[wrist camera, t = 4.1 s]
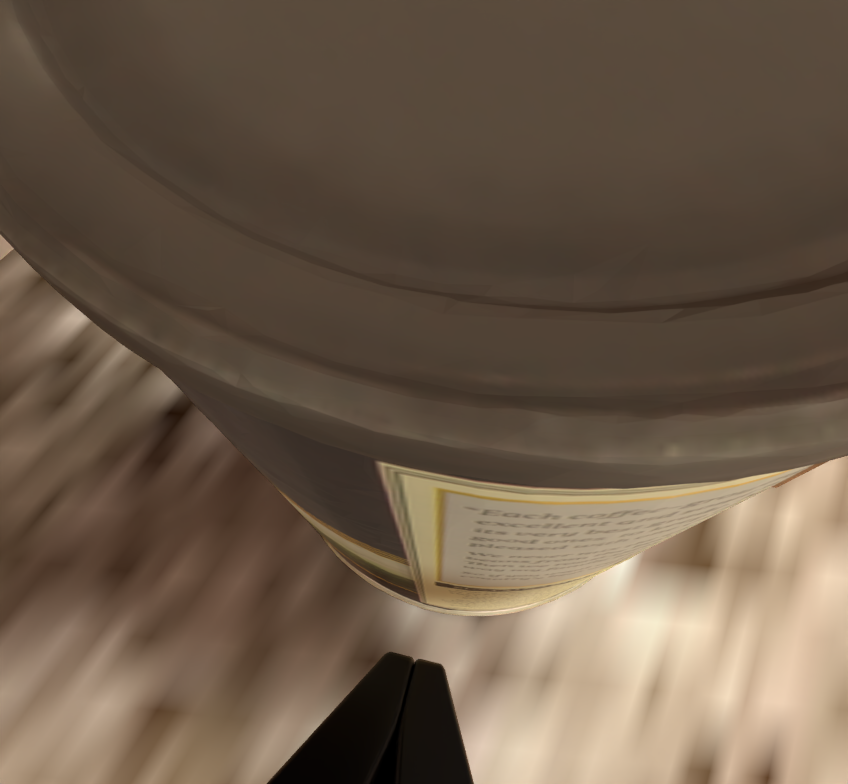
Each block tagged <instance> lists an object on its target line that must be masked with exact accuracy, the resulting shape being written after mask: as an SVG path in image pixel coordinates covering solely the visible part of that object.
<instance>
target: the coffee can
mask: <svg viewBox="0 0 848 784" xmlns="http://www.w3.org/2000/svg"><path fill="white" fill-rule="evenodd" d="M0 235H1V236H2V237H3V238H4V239H5V240H6V241H7V242H8V243H9V244H10V245H11V246H12V247H13V248H14V249H15V250H16V251H17V252H18V253H19V254H20V255H21V256H22V257H23V258H24V259H25V260H26V261H27V263H28V264H29V265H30V266H31V267H32V268H33V269H34V270H35V271H36V272H38V273H39V274H40V275H41V276H42V277H43V278H44V279H45V280H46V281H47V282H48V283H49V284H50V285H51V286H52V287H53V288H54V289H55V290H56V291H58V292H59V293H60V294H61V295H62V296H63V297H64V298H66V299H67V300H68V301H69V302H70V303H71V304H73V305H74V306H75V307H76V308H77V309H79V310H80V311H81V312H82V313H83V314H84V315H86V316H87V317H88V318H89V319H90V320H91V321H93V322H94V323H95V324H96V325H97V326H98V327H100V328H101V329H102V330H104V331H105V332H106V333H108V334H109V335H110V336H112V337H113V338H114V339H116V340H117V341H118V342H120V343H121V344H122V345H124V346H125V347H127V348H128V349H130V350H131V351H133V352H134V353H136V354H137V355H139V356H140V357H142V358H144V359H145V360H147V361H148V362H150V363H151V364H153V365H154V366H156V367H157V368H159V369H161V370H162V371H163V372H164V373H165V374H166V375H167V376H168V377H169V378H170V379H171V380H172V381H173V382H174V383H175V384H176V385H177V386H178V387H179V388H180V389H181V390H182V392H183V393H184V394H185V395H186V396H187V397H188V398H189V399H190V400H191V401H192V402H193V403H194V405H195V406H196V407H197V408H198V409H199V410H200V411H201V412H202V413H203V414H204V415H205V416H206V417H207V418H208V419H209V420H210V421H212V422H213V423H214V425H215V426H216V427H217V428H218V429H219V430H220V431H221V432H222V433H223V434H224V435H225V436H226V437H227V438H228V439H229V440H230V441H231V443H232V444H233V445H234V446H235V447H236V448H237V449H238V450H239V451H240V452H241V453H242V454H243V455H244V456H245V457H246V458H247V459H248V460H249V461H250V462H251V463H252V464H253V465H254V466H255V467H256V469H258V470H259V471H260V472H261V473H262V474H263V475H264V476H265V477H266V478H267V479H268V480H269V481H270V482H271V483H272V484H273V485H274V486H275V487H276V488H277V489H278V491H279V492H280V493H281V494H282V495H283V496H284V497H285V498H286V499H287V500H288V501H289V502H290V503H291V504H292V505H293V506H294V507H295V508H296V509H297V511H298V512H299V513H300V514H301V515H302V516H303V517H304V518H305V519H306V520H307V521H308V522H309V523H310V524H311V525H312V526H313V527H314V528H315V529H316V530H317V532H318V533H319V534H320V535H321V537H322V538H323V540H324V541H325V542H326V544H327V545H328V546H329V547H330V548H331V549H332V551H333V552H334V553H335V554H336V555H337V557H338V558H339V559H340V560H342V561H343V562H344V563H345V564H346V565H347V566H348V567H349V568H350V569H352V570H353V571H354V572H355V573H357V574H358V575H359V576H360V577H362V578H363V579H364V580H366V581H367V582H369V583H370V584H371V585H373V586H374V587H376V588H378V589H380V590H382V591H383V592H385V593H387V594H389V595H391V596H393V597H395V598H397V599H400V600H402V601H404V602H406V603H409V604H412V605H415V606H418V607H420V608H422V609H426V610H429V611H434V612H439V613H443V614H452V615H461V616H493V615H501V614H508V613H515V612H519V611H523V610H527V609H531V608H534V607H537V606H540V605H543V604H546V603H548V602H551V601H554V600H556V599H558V598H560V597H562V596H564V595H566V594H568V593H570V592H572V591H574V590H576V589H578V588H580V587H581V586H582V585H584V584H585V583H586V582H588V581H589V580H591V579H592V578H593V577H594V576H596V575H598V574H600V573H602V572H604V571H606V570H608V569H610V568H612V567H614V566H615V565H618V564H620V563H622V562H624V561H626V560H628V559H630V558H632V557H634V556H635V555H637V554H639V553H641V552H643V551H644V550H647V549H649V548H651V547H653V546H655V545H657V544H659V543H661V542H663V541H665V540H667V539H669V538H671V537H673V536H675V535H677V534H679V533H681V532H683V531H685V530H687V529H689V528H691V527H693V526H695V525H697V524H699V523H701V522H703V521H705V520H707V519H709V518H711V517H713V516H715V515H717V514H719V513H721V512H723V511H725V510H727V509H729V508H731V507H733V506H735V505H737V504H739V503H741V502H743V501H745V500H747V499H749V498H751V497H753V496H754V495H756V494H758V493H760V492H762V491H764V490H766V489H768V488H770V487H772V486H774V485H776V484H778V483H780V482H781V481H783V480H785V479H787V478H789V477H791V476H793V475H795V474H797V473H799V472H801V471H803V470H805V469H806V468H808V467H810V466H812V465H814V464H818V463H822V462H826V461H830V460H833V459H837V458H841V457H844V456H848V0H0Z"/></svg>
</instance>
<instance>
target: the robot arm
mask: <svg viewBox="0 0 848 784" xmlns="http://www.w3.org/2000/svg"><path fill="white" fill-rule="evenodd" d="M267 784H474V782H473V779H472V775H471V771H470V767H469V763H468V759H467V755H466V751H465V747H464V743H463V739H462V735H461V731H460V727H459V723H458V719H457V716H456V712H455V708H454V704H453V700H452V696H451V692H450V688H449V684H448V680H447V676H446V672H445V669H444V667H443V666H442V665H441V664H439V663H434V662H430V661H426V660H422V659H418V660H416V661H415V664H414V659H413V658H412V657H410V656H405V655H401V654H397V653H393V652H389V653H386V654H385V655H384V656H383V657H382V658H381V659H380V660H379V661H378V662H377V663H376V665H375V666H374V667H373V668H372V669H371V670H370V671H369V672H368V673H367V674H366V676H365V677H364V678H363V679H362V680H361V681H360V682H359V683H358V684H357V685H356V686H355V688H354V689H353V690H352V691H351V692H350V693H349V694H348V695H347V696H346V697H345V698H344V700H343V701H342V702H341V703H340V704H339V705H338V706H337V707H336V708H335V709H334V711H333V712H332V713H331V714H330V715H329V716H328V717H327V718H326V719H325V720H324V721H323V723H322V724H321V725H320V726H319V727H318V728H317V729H316V730H315V731H314V732H313V733H312V735H311V736H310V737H309V738H308V739H307V740H306V741H305V742H304V743H303V744H302V746H301V747H300V748H299V749H298V750H297V751H296V752H295V753H294V754H293V755H292V756H291V758H290V759H289V760H288V761H287V762H286V763H285V764H284V765H283V766H282V767H281V768H280V770H279V771H278V772H277V773H276V774H275V775H274V776H273V777H272V778H271V779H270V781H269V782H268V783H267Z"/></svg>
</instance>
